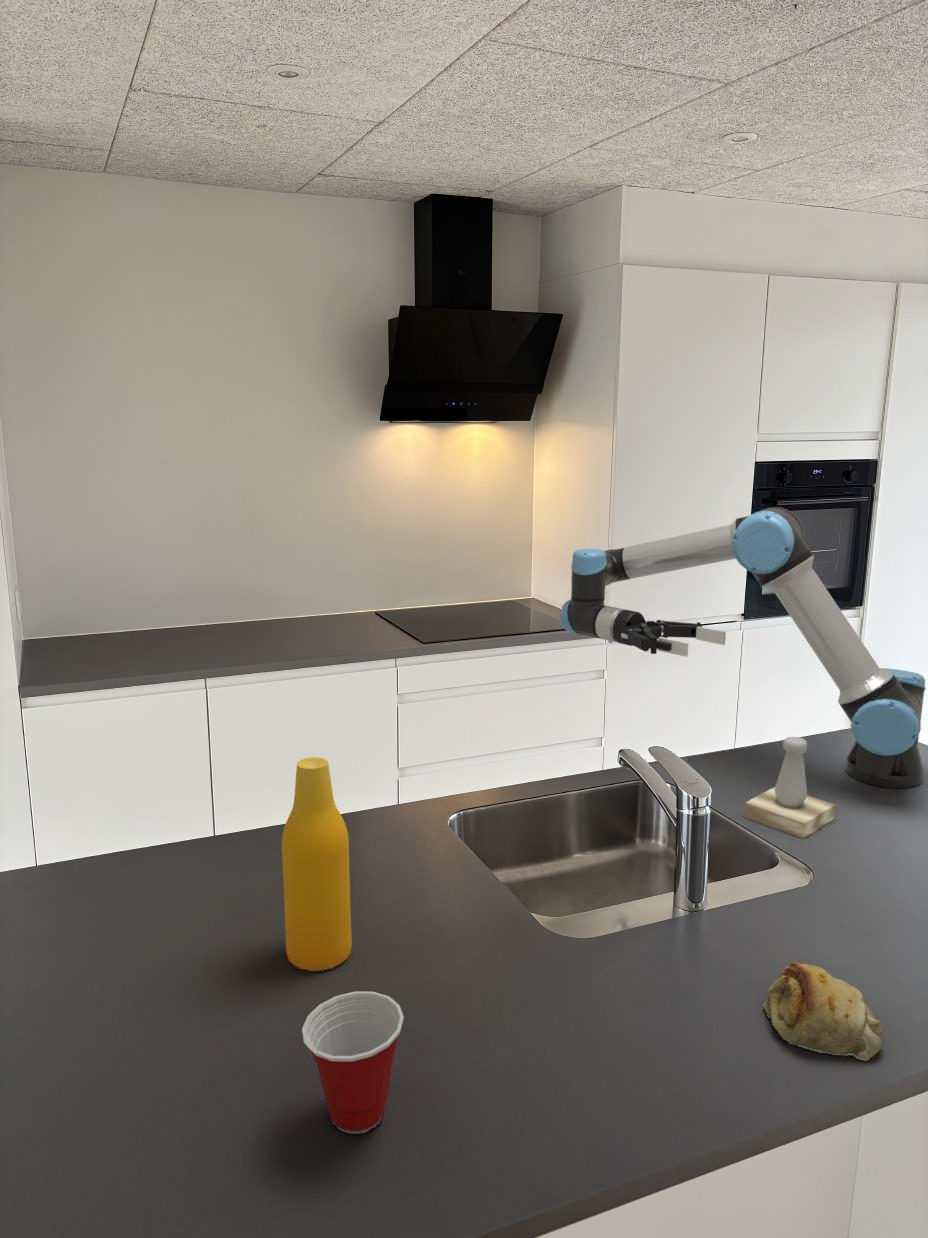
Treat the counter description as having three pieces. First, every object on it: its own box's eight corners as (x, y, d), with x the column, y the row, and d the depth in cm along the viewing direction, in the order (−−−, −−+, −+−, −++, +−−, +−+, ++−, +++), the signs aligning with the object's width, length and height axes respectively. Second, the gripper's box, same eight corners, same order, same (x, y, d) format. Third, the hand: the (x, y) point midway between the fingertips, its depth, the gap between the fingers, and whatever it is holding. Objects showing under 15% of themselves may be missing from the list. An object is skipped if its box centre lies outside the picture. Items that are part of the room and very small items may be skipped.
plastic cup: (309, 1082, 103) (306, 990, 101) (404, 1077, 104) (402, 986, 102) (301, 1158, 93) (296, 1058, 90) (406, 1152, 94) (404, 1052, 91)
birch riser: (775, 799, 180) (776, 785, 179) (834, 819, 171) (835, 804, 171) (743, 817, 172) (745, 802, 171) (803, 838, 163) (804, 823, 163)
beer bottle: (365, 953, 128) (361, 762, 122) (313, 982, 122) (305, 782, 115) (324, 928, 134) (318, 745, 128) (273, 955, 128) (263, 763, 121)
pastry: (740, 1012, 116) (745, 957, 114) (810, 985, 122) (815, 932, 120) (829, 1083, 104) (835, 1022, 102) (901, 1049, 110) (909, 991, 108)
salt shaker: (807, 811, 167) (813, 746, 165) (774, 808, 169) (780, 742, 166) (804, 799, 173) (810, 735, 170) (773, 795, 174) (778, 732, 172)
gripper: (654, 633, 206) (737, 651, 191) (584, 652, 189) (669, 673, 174) (656, 601, 204) (740, 616, 189) (585, 617, 188) (671, 635, 173)
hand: (706, 643), depth 182 cm, fingers open, 13 cm apart
